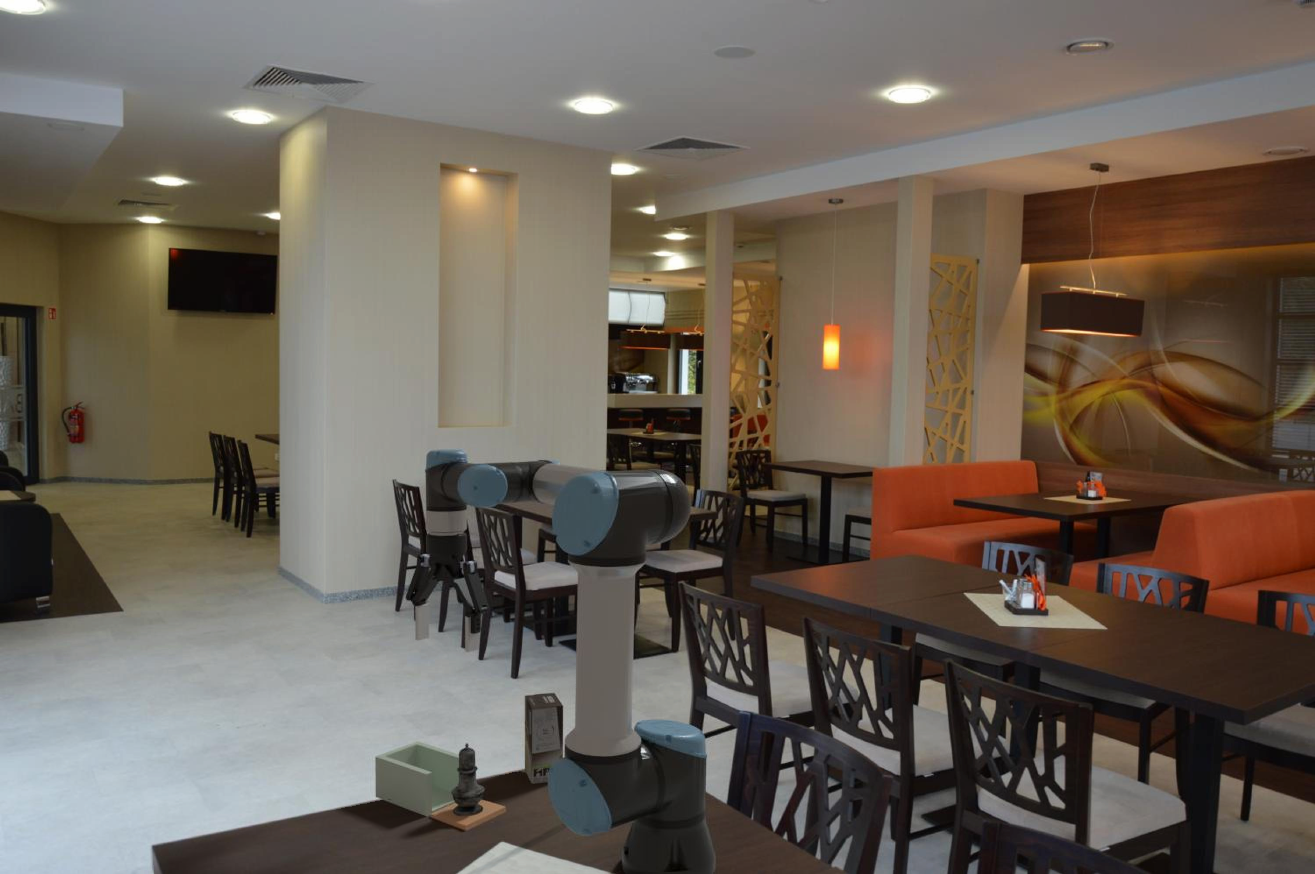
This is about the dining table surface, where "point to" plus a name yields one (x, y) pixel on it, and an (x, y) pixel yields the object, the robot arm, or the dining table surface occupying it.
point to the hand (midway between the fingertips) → (446, 644)
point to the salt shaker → (467, 785)
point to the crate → (417, 777)
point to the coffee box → (542, 735)
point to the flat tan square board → (469, 821)
